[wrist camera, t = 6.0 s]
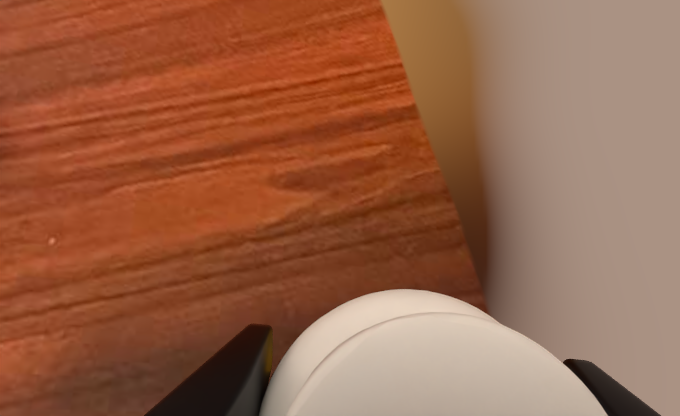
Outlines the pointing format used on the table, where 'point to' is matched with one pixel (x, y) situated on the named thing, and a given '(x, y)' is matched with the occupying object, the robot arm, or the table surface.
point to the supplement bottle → (420, 364)
